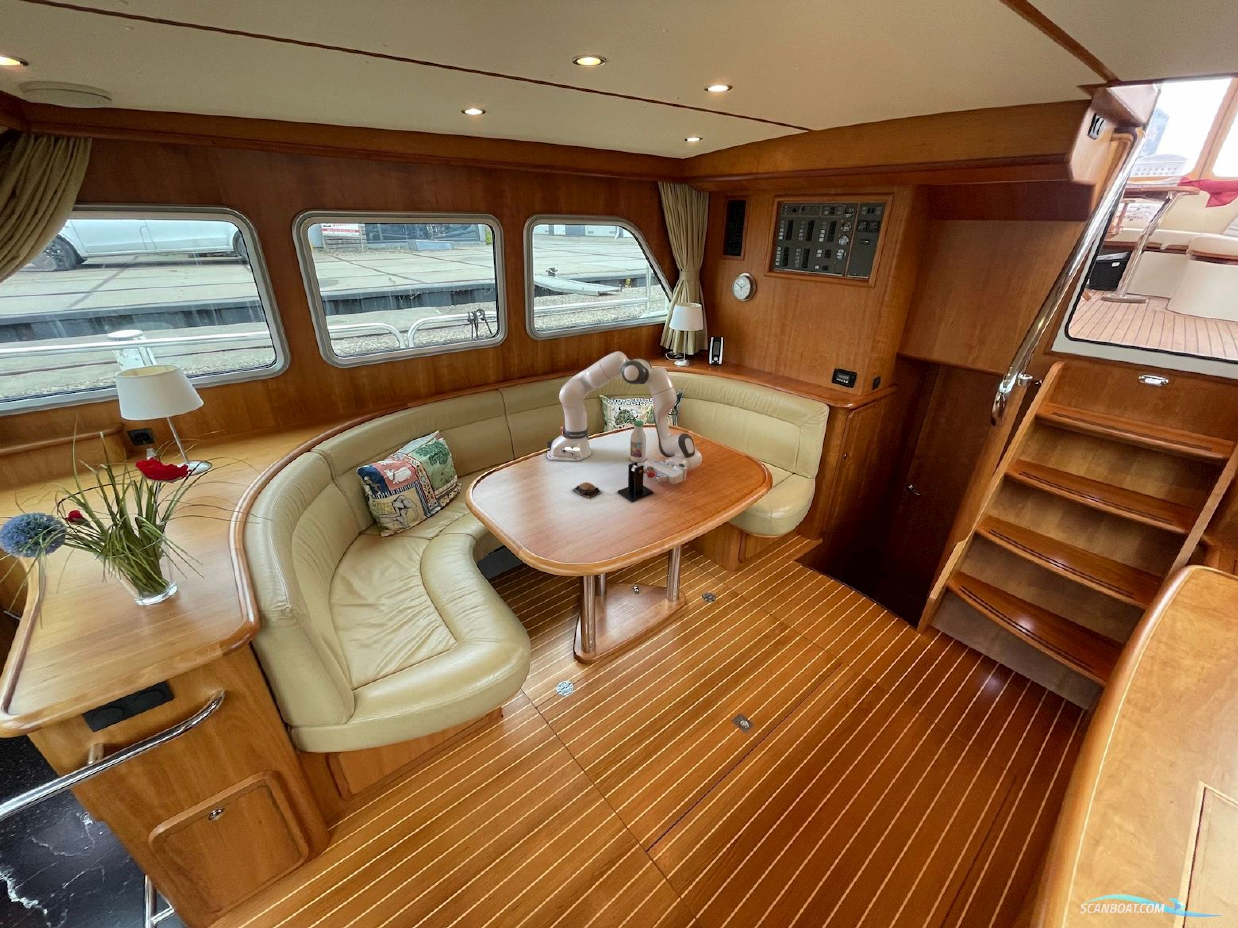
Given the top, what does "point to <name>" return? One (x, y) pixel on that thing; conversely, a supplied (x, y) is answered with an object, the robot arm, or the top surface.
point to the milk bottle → (638, 443)
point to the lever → (649, 473)
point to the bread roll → (587, 490)
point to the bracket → (635, 484)
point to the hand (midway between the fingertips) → (650, 475)
